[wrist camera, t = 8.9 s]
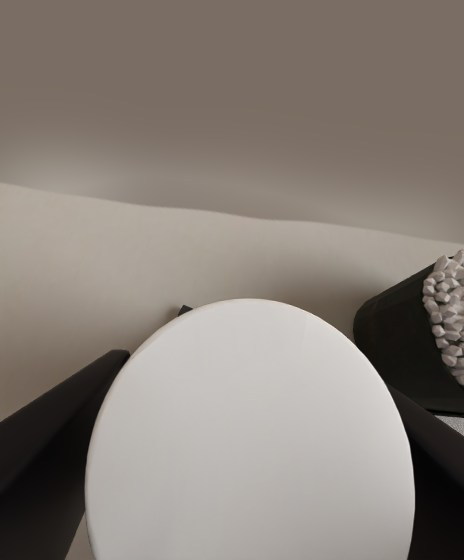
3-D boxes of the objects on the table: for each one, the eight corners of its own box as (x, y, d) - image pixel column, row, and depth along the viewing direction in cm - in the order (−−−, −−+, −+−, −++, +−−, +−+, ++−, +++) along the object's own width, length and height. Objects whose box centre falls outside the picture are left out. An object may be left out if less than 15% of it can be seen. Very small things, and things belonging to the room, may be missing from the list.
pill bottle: (214, 326, 15) (226, 211, 5) (306, 400, 14) (513, 412, 4) (133, 424, 13) (-69, 507, 3) (233, 519, 12) (330, 994, 2)
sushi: (491, 406, 18) (683, 417, 11) (369, 417, 17) (487, 437, 10) (448, 289, 21) (577, 235, 14) (342, 294, 20) (418, 239, 13)
